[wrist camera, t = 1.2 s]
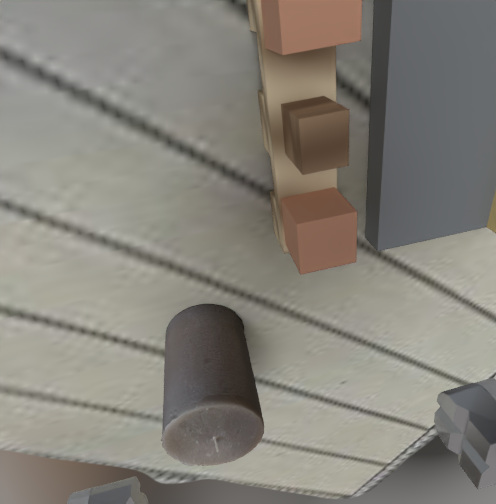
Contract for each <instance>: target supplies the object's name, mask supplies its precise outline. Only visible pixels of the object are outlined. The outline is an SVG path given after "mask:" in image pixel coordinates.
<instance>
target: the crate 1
mask: <svg viewBox="0 0 496 504" xmlns="http://www.w3.org/2000/svg"><path fill="white" fill-rule="evenodd" d="M261 9H262V19H263V29H264V38H265V48H266V49H269V50H271V51H274V52H276V53H279V54H281V55H286V54H291V53H297V52H302V51H308V50H313V49H319V48H324V47H329V46H335V45H340V44H346V43H351V42H357V41H361V24H362V0H261Z"/></svg>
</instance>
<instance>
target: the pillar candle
mask: <svg viewBox="0 0 496 504" xmlns="http://www.w3.org/2000/svg"><path fill="white" fill-rule="evenodd" d="M263 434H264V422H263V418H262V412H261V407H260V403H259V398H258V393H257V389H256V384H255V379H254V375H253V371H252V367H251V362H250V357H249V352H248V348H247V343H246V338H245V335H244V325H243V322H242V320H241V319H240V318H239V317H238V316H237V315H236V313H235V312H233V311H232V310H230V309H228V308H226V307H223V306H220V305H213V304H202V305H197V306H193V307H190V308H187V309H185V310H183V311H182V312H180V313H179V314H178V315H176V316H175V317H174V318H173V319H172V320H171V322H170V324H169V325H168V327H167V331H166V341H165V369H164V404H163V432H162V439H161V441H163V444H162V446H163V448H164V449H165V450H166V451H167V454H169V455H170V456H171V457H173V458H174V459H176V460H178V461H180V462H183V464H185V465H198V466H199V465H202V466H204V465H207V466H208V465H218V464H223V463H227V462H231V461H234V460H236V459H238V458H240V457H242V456H244V455H246V454H247V453H248V452H250V451H251V450H252V449H253V448H255V447H256V446H257V444H258V443H259V442H260V440H261V438H262V436H263Z"/></svg>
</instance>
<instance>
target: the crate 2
mask: <svg viewBox="0 0 496 504" xmlns="http://www.w3.org/2000/svg"><path fill="white" fill-rule="evenodd" d="M281 203H282V213H283V223H284V232H285V242H286V246H287V248H288V250H289V252H290V254H291V256H292V258H293V260H294V262H295V264H296V266H297V268H298V270H299V272H300V274H305V273H310V272H314V271H319V270H323V269H328V268H332V267H336V266H341V265H345V264H350V263H354V262H356V247H357V211H356V210H355V208H354V207H353V206H352V205H351V204H350V203H349V202H348V201H347V200H346V199H345V198H344V197H343V196H342V195H341V193H340V192H339V191H338V190H337V189H336V188H335V187H332V188H328V189H323V190H318V191H313V192H308V193H304V194H299V195H294V196H289V197H285V198H281Z"/></svg>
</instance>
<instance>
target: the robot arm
mask: <svg viewBox="0 0 496 504" xmlns="http://www.w3.org/2000/svg"><path fill="white" fill-rule="evenodd" d="M437 402H438V404H439V405H440V408H439V409H438V410H437V411H436V412H435V419H434V422H435V426H436V429H437V432H438V434H439V436H440V438H441V440H442V441H443V442H444V444H445V445H446V447H447V448H448V449H450V450H451V451H453V452H455V453H457V454H458V455H459V465H460V466H461V467H462V469H463V470H464V472H465V473H466V474H467V476H468V477H469V478H470V480H471V481H472V482H473V484H474V485H475V487H476V488H477V489H481V488H484V487H488V486H492V485H495V484H496V380H495V379H486V380H483V381H480V382H476V383H471V384H467V385H464V386H461V387H457V388H454V389H451V390H447V391H444V392H441V393H440V394H439V395H438V399H437ZM67 504H148V500H147V498H146V496H145V494H143V493H141V492H140V483H139V481H138V479H137V477H132V478H128V479H124V480H121V481H117V482H113V483H110V484H106V485H102V486H98V487H93V488H90V489H86V490H83V491H79V492H75V493H72V494H71V496H70V497H69V500H68V502H67Z"/></svg>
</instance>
